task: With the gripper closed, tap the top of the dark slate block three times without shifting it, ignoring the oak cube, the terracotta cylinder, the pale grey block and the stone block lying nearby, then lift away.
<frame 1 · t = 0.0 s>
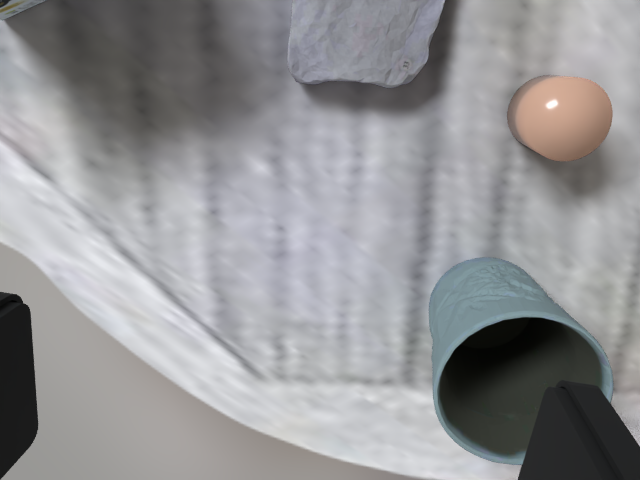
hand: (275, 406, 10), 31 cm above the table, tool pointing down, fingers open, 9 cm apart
blue-grey cup: (482, 302, 42), on the table
terracotta cylinder: (544, 112, 37), on the table
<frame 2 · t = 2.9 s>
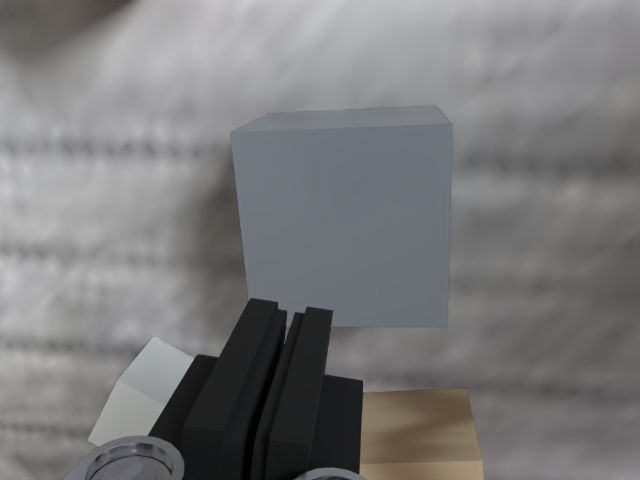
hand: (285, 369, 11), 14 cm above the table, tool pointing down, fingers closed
slate block: (353, 190, 23), on the table
oak cube: (418, 431, 27), on the table
pale grey block: (190, 390, 28), on the table
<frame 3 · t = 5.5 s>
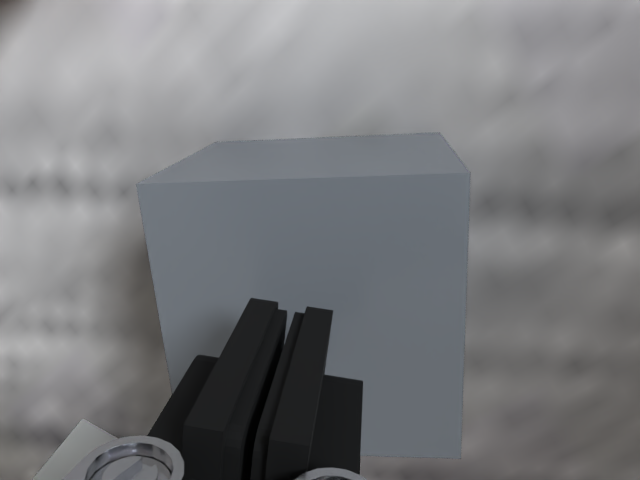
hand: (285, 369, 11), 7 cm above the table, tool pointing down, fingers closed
slate block: (331, 242, 18), on the table
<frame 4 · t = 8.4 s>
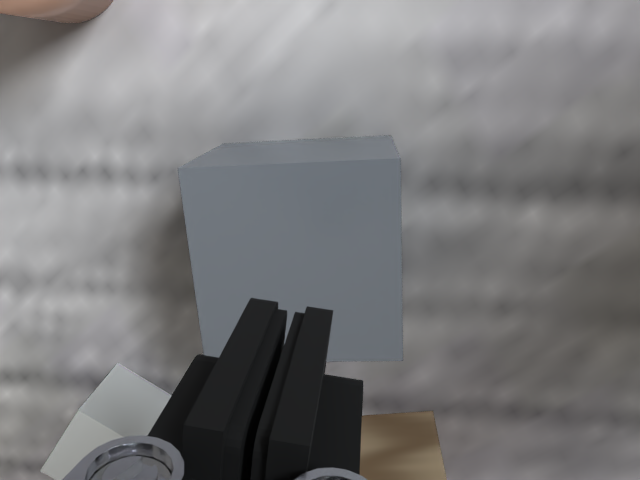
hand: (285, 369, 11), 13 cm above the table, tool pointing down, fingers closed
slate block: (311, 219, 23), on the table
oak cube: (386, 455, 27), on the table
pale grey block: (152, 419, 27), on the table
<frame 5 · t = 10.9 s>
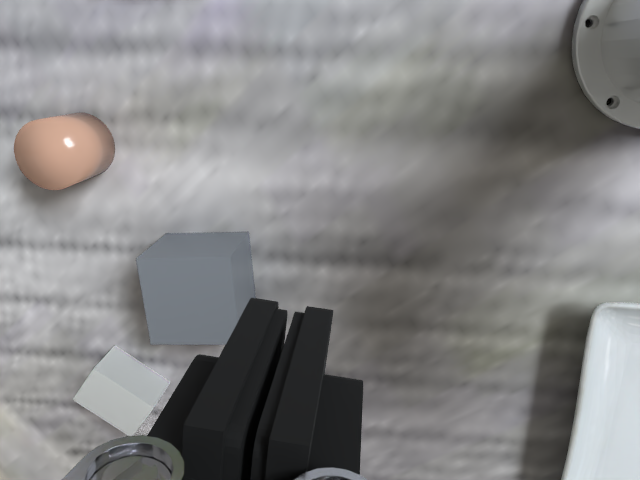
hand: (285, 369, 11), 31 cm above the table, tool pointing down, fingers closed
slate block: (212, 271, 45), on the table
terracotta cylinder: (84, 144, 42), on the table
pale grey block: (133, 377, 49), on the table
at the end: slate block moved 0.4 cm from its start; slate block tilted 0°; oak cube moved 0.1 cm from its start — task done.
